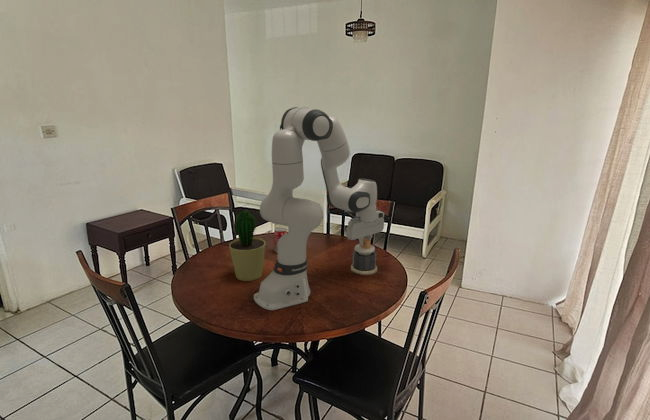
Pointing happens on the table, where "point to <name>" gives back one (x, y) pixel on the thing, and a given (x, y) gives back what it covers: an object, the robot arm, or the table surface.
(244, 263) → the potted cactus
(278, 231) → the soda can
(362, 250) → the cap
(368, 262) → the cylinder
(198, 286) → the table surface
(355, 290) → the table surface
